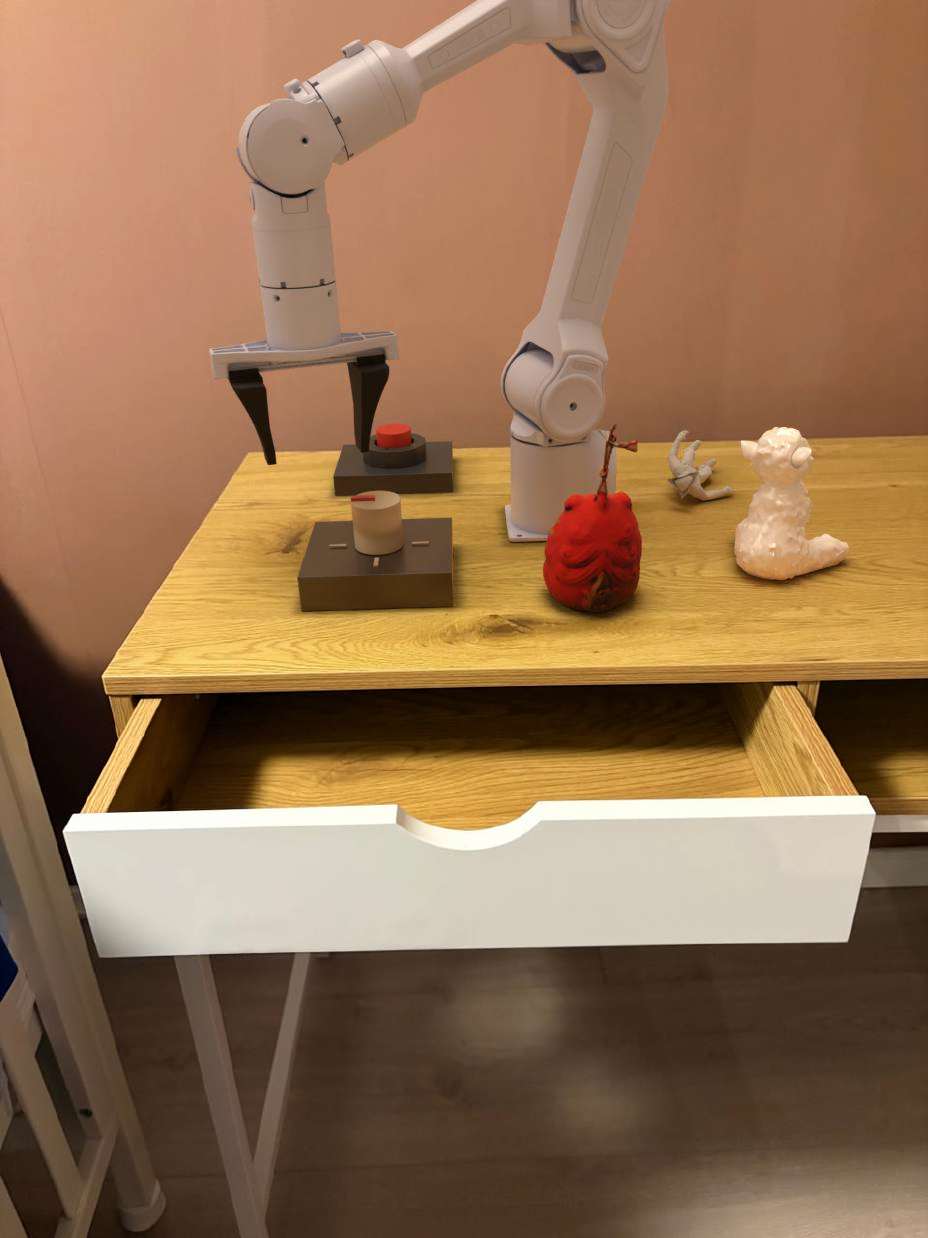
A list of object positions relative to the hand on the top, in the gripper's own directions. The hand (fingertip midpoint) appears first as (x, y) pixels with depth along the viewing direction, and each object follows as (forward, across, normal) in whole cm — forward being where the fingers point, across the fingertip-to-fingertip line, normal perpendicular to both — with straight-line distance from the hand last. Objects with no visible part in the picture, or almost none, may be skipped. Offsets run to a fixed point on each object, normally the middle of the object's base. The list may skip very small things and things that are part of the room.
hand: (317, 454), depth 78 cm
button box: (+10, -11, -18) cm, 23 cm away
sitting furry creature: (+10, -35, +15) cm, 39 cm away
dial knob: (+7, -4, +5) cm, 9 cm away
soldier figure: (+10, -38, -3) cm, 39 cm away
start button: (+6, -11, -18) cm, 22 cm away
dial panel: (+10, -4, +5) cm, 11 cm away
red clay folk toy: (+10, -18, +15) cm, 26 cm away
